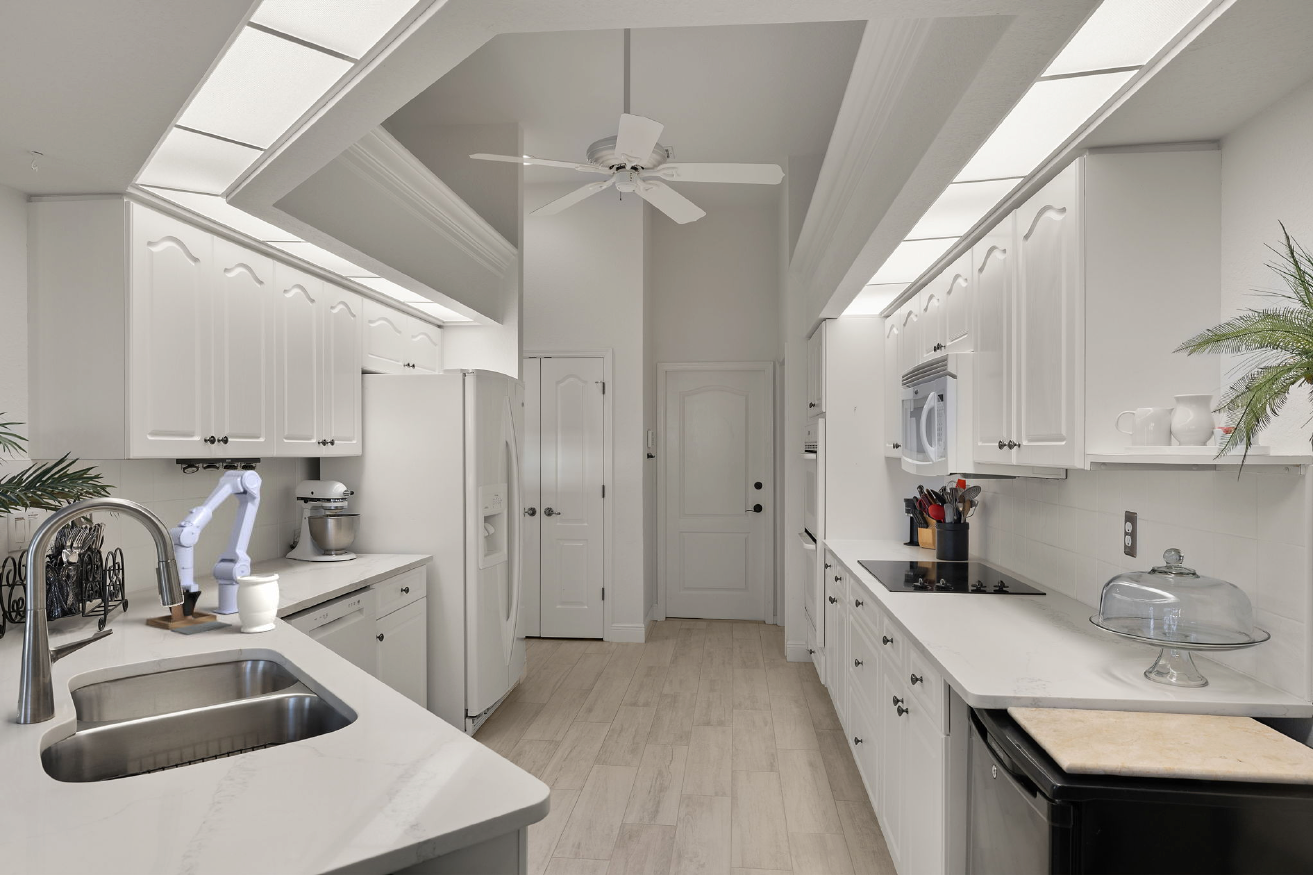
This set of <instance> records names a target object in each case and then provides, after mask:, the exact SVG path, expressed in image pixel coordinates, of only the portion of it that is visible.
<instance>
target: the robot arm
mask: <svg viewBox="0 0 1313 875" xmlns="http://www.w3.org/2000/svg"><path fill="white" fill-rule="evenodd" d="M218 481H219V482H218V484H217V485H216V487H215V488H214V489H213V491H212V492H211V493H210V495H209V496H208V497H207V498H206V499H205V501H204V502H203V503H202V505H201V506H195V507H193V508H191V509H189V511H188V512H189V513H188V514H187V515H186V517H184V519H183V520H181V521H179V523H178V525H177V526H174V527H172V528H171V529H170V530H169V531H168V532H169V533H170V535H171V536H172V540H173V542H174V551H175V554H176V559H177V563H178V567H179V576H180V579H181V586H182V589H183V595H184V603H183V604H182V608H183V615H184V616H185V617H186V616H192V615H193V612H194V608H195V609H196V605H197V601H198V600H199V598H200V596H202V590H199V584H197V583H196V582H195V581H194V545H196V543H197V542H198V541H199V537H200V534H201V531H203V529H204V528H205V527H206V526H207V525H208V524H209V522H211V520H212V519H213V512H214V511H215V510H216V509H217V508H218V507H219V506H220V505H221V504H222V503H223V502H224V501H226V499H227V498H228V497H229V496H230V495H233V496H234V497H235V498H236V499H237V500H238V506H237V507H238V508H237V510H236V514H235V516H234V517H235V518H234V521H233V525H232V528H231V532H230V536H229V539H228V543H227V547H226V550H225V551H223V552H222V553H221V554H220V555H219V556H218V560H217V561H216V563H215V564H214V566H213V568H212V572H211V573H212V576H213V578H214V579H215V580H216V583H217V584H218V585H217V586H218V592H217V593H218V594H217V596H218V597H217V598H218V599H217V604H218V605H217V607H218V608H217V609H212V610H211V611H212V612H213V613H218V614H224V615H228V614H233V613H238V608H237V589H238V586H239V583H238V582H237V577H240V576H245V575H251V561H252V559H251V557H250V556H249V555H248V554H247V551H248V547H249V542H250V538H251V535H252V532H253V527H254V524H255V520H256V517H257V513H258V509H259V505H260V501H261V494H260V493H261V492H260V491H261V490H260V489H261V486H262V481H263V480H262V479H261V477H260V475H259V474H258V473H257V472H256V471H254V470H228V471H226V472H225V473H224V474H223V476H221V477H220V478H219V480H218ZM168 609H169V613H170V615H171V614H172V607H169V606H168Z"/></svg>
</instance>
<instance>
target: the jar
mask: <svg viewBox="0 0 1313 875" xmlns="http://www.w3.org/2000/svg"><path fill="white" fill-rule="evenodd" d="M279 577H280V575H279V574H277V573H254V574H253V573H252V574H250V575H245V576H240V577H237V582H238V583H239V586H238V589H237V608H238V612H237V613H238V618H239V621H240V623H241V624H242V627H241V628H240V632H242V633H246V634H255V633H256V634H257V633H264V632H265V633H266V632H269V631H272V630H274V629H275V628H276V625H275V624H274V621H275V619H276V617H277V613H278V608H279V602H280V589H279V584H278V580H279Z"/></svg>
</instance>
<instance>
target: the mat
mask: <svg viewBox="0 0 1313 875" xmlns="http://www.w3.org/2000/svg"><path fill="white" fill-rule="evenodd" d="M232 624H233V623H232ZM232 624H231V623H227V622H222V621H218V620H217V621H212V622H206V623H201V624H196V625H191V626H186V627H181V628H176V629H171V630H170V631H171V632H174V633H178V634H180V635H181V634H182V635H186V636H188V635H189V636H190V635H193V634H199V633H204V632H207V631H208V632H209V631H213V630H218V629H223V628H227V627H232V626H233V625H232Z"/></svg>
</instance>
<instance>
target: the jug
mask: <svg viewBox="0 0 1313 875" xmlns="http://www.w3.org/2000/svg"><path fill="white" fill-rule="evenodd" d="M195 611H196V607H195V608H194V612H195ZM189 619H193V617H192V616H186V617H185V616H184V615H183V608H182V604H180V605H177V606H172V621H171V623H173V622H179V621H184V620H189Z"/></svg>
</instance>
